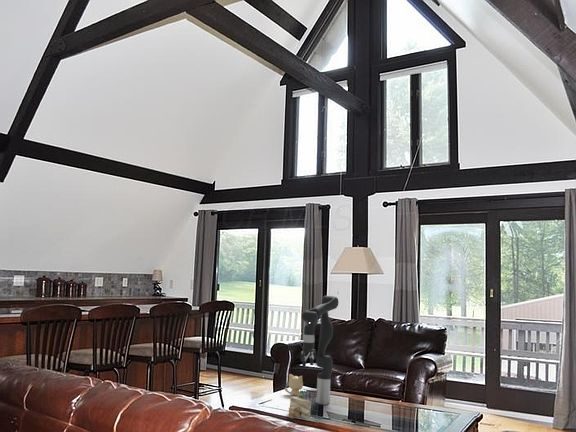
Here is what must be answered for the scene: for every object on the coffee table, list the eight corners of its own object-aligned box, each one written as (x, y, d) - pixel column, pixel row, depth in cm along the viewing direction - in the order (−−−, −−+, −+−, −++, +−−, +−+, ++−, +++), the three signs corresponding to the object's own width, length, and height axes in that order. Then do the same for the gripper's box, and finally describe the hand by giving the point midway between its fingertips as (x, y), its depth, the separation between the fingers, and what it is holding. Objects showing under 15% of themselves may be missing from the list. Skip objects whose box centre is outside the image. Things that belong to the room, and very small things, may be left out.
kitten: (307, 395, 383) (308, 374, 385) (302, 398, 374) (303, 377, 376) (289, 392, 389) (290, 372, 391) (283, 394, 380) (285, 374, 382)
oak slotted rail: (305, 412, 337) (306, 402, 338) (310, 413, 335) (310, 404, 335) (288, 417, 323) (289, 407, 324) (292, 418, 321) (293, 408, 322)
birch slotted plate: (292, 412, 335) (293, 396, 336) (310, 417, 326) (311, 401, 327) (289, 413, 332) (290, 397, 333) (306, 418, 323) (307, 402, 324)
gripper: (310, 339, 353) (309, 363, 352) (297, 341, 342) (296, 366, 340) (319, 341, 348) (318, 365, 347) (307, 343, 337) (305, 368, 336)
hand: (307, 365), depth 344 cm, fingers open, 8 cm apart
